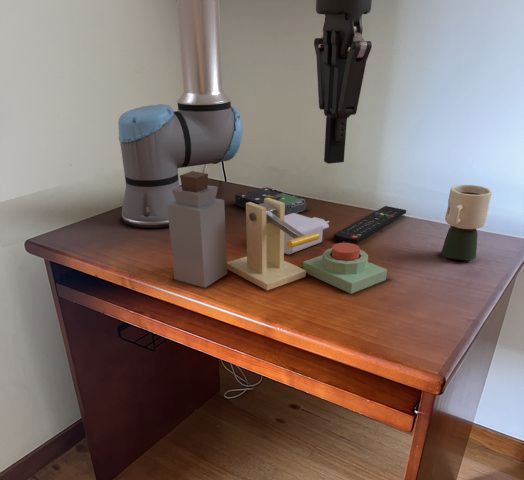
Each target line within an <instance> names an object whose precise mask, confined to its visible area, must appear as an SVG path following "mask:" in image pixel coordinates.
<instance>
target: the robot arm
mask: <svg viewBox="0 0 524 480" xmlns="http://www.w3.org/2000/svg"><path fill="white" fill-rule="evenodd" d="M372 2H373V0H315V12H316V13H317V15H324V21H323V26H322V35H321V37H315V38H314V40H313V44H314V45H313V47H314V51H315V56H316V75H317V93H318V108H319V110H320V111H321V110H323V114H324V116H325V118H326V119H325V135H324V136H325V137H324V154H323V155H324V157H323V158H324V159H323V163H325V164H327V165H328V164H341V163H344V162H345V151H346V137H347V125H348V124H347V122H348V119H349V118H350V117H351V116H355V115H356V114H357V111H358V106H359V101H360V97H361V92H362V86H363V81H364V77H365V71H366V66H367V61H368V58H369V56H370V54H371V51H372V46H373V45H372V44H373V43H372V41H371V40H365V39H364V38H363V29H364V28H363V22H362V21H363V20H362V19H363V18H362V17H363V15H368V14H369V13H370V12H371V11H372ZM220 9H221V8H220V0H176V12H177V14H176V15H177V24H178V25H177V26H178V27H177V28H178V38H179V39H178V41H179V51H180V62H181V77H182V87H183V88H182V89H183V91H182V94H181V95H180V96H179V98H178V99H177V101H176V102H177V110H176V111H174V109H173V107H172V106H171V105H169V104H162V103H161V104H154V105H152V104H150V105H144V106H140V107H135V108H132V109H129V110H127V111H124V112H123V113H122V114H121V115H120V116H119V117H118V121H117V123H118V125H117V126H118V141H119V144H120V152H121V158H122V159H121V160H122V166H123V172H124V181H125V191H124V196H123V201H122V207H121V219H122V222H123V223H124V224H126V225H127V226H130V227H134V228H139V229H162V228H169V218H168V208H167V204H169V203H172V202H174V201H176V200H175V198H174V195H173V192H172V190H173V189H176V188H179V187H181V185H180V184H181V183H180V181H179V169H181V168H182V169H183V168H187V167H188V168H189V167H196V166H203V165H204V166H205V165H211V164H212V165H217V164H219V163H223V162H227V161H230V160H232V159H234V157H236V155H237V153H238V152H239V150H240V146H241V145H242V139H243V124H242V119H241V115H240V112H239V111H238V109H236V107H234V106H232V103H231V102H232V101H231V100H232V99H231V98H230V96H228V95H227V93H225V91H224V79H223V76H224V75H223V58H222V57H223V56H222V55H223V54H222V53H223V52H222V37H221V35H222V33H221V10H220Z"/></svg>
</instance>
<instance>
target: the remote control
mask: <svg viewBox="0 0 524 480" xmlns="http://www.w3.org/2000/svg"><path fill="white" fill-rule="evenodd" d="M405 214H407V209H404V208H398V207H392V206H388V205H385V206H383V207H381V208H378V209H377V210H375V211H373V212H372V213H370V214H368V215H366V216H364V217H362V218H360V219H358V220H357V221H355V222H353V223H351V224H350V225H348V226H345V228H343V229H341V230H339V231H337V232H335V233H334V234H333V238H334V239H335V241H336V242H338V243H352V244H357V243H359V242H360V241H362V240H364V239H365V238H367V237H369V236H371V235H372V234H374V233H375V232H377V231H378V230H380V229H382V228H384V227H386V226H387V225H388V224H390V223H392V222H394V221H396V220H397V219H399V218H400V217H402V216H404V215H405Z"/></svg>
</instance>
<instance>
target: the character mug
mask: <svg viewBox="0 0 524 480" xmlns="http://www.w3.org/2000/svg"><path fill="white" fill-rule="evenodd" d="M492 193H493V191H492V190H491V189H490V188H487V187H486V186H485V187H484V186H481V185H474V184H458V185H453V186H451V187H450V189H449V193H448V194H449V195H448V199H447V209H446V213H445V216H444V219H445V222H446V223H447V224H448V225H450V227H449V228H448V230H447V233H446V236H445V239H444V241H443V245H442V248H441V255H442V256H443V257H444V258H448V259H453V260H454V261H456V260H459V261H473V260H474V259H476V257H477V251H478V249H477V248H478V236H479V235H478V233H479V232H478V231H477V229H482V228H483V227H484V226H485V225H486V221H487V217H488V211H489V207H490V203H491V198H492Z"/></svg>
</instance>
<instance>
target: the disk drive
mask: <svg viewBox="0 0 524 480" xmlns="http://www.w3.org/2000/svg"><path fill="white" fill-rule="evenodd" d="M264 198H271V199H274V200H277V201H280V202H282V203H285V215H288V214H291V213H296V214H298V213H301V212H303V211H306V210H307V201H306V200H305V199H304V198H302V197H300V196H295V195H293V194H290V193H286V192H283V191H280V190H277V189H274V188H271V187H268V186H267V187H265V186H264V187H262V188H257V189H253V190H249V191H247V193H245V192H240V193H236V194H235V199H234V200H235V205H237V206H239V207H242V208H244V209H246V203H248V202H252V203H255V204H257V205H258V204H262V203H264Z"/></svg>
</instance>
